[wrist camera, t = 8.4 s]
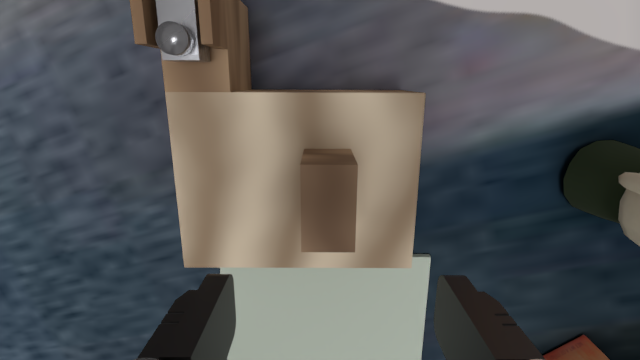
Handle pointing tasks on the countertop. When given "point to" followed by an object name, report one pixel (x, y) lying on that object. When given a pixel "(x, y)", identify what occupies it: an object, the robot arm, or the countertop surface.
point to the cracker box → (577, 351)
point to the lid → (296, 177)
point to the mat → (330, 312)
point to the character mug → (607, 184)
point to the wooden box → (224, 46)
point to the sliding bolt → (180, 31)
